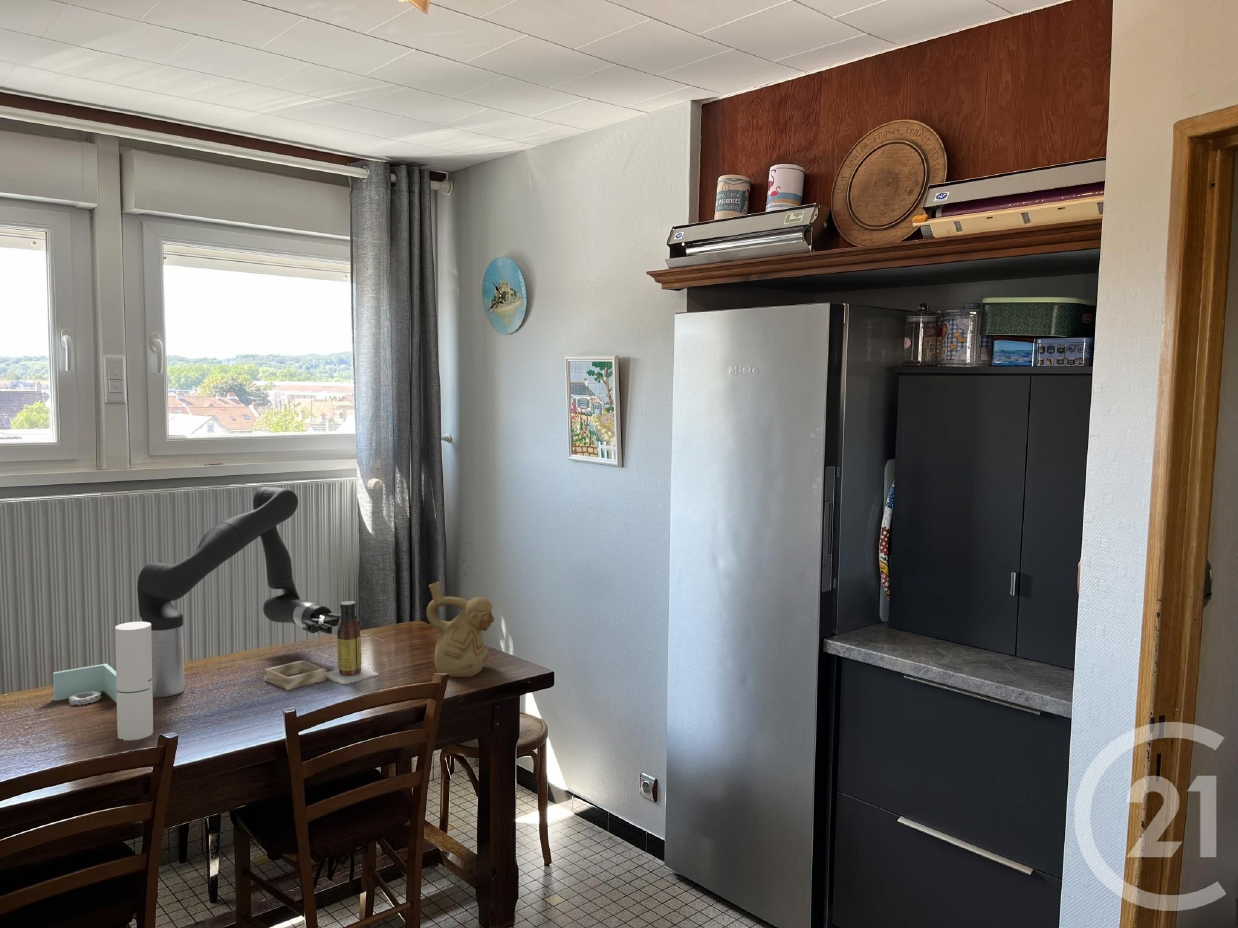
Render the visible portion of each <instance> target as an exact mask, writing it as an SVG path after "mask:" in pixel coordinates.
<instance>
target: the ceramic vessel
mask: <svg viewBox="0 0 1238 928" xmlns="http://www.w3.org/2000/svg"><path fill="white" fill-rule="evenodd" d="M440 584H441V583H440V582H439V581H437V582H433V583H432V582H431V583H430V584H428V587H429V590H430V592H431V596H432V600H431V601H430V602H429V603H428V605H427V607H426V611H425V613H426V618H427V620H428V622H429V623H430V625H431V626H432V627H434V629H437V630H439V631H441V633H440V634H439V636H438V638H437V641H436V645H435V649H434V664H435V669H436V671H437V673H438V674H440V673H447V674H448V675H449V676H448V677H451V678H453V677H454V678H466V677H475V676H476V675H478V674H479V673H480V672H481V671H482V670H483V667H484V666H485V665H486V664H487V663H488V661H489V659H490V652H489V649H488V648H487V647H486V646H485V645H484V638H483V632H487V631H488V629H489V628H490V627H491V626H492V623H494V622H495V618H494V616H493V613H492V609H493V604H492V603H491V602H490V601H489V600H488V599H486V598H485V597H482V596H481V597H480V596H477V597H472V598H471V599H469V600H467V599H465V598H461V597H457V596H443V594H442V590H441V585H440ZM443 606H455V607H458V608H459V609H461V611H460V613H459V614H458V615H456V616H455V618H453V619H452V620H450V621H449V620H448V621H446V620H443V619H441V618H440V617H438V615H437V609H438V608H439V607H443Z"/></svg>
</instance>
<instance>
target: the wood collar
mask: <svg viewBox="0 0 1238 928" xmlns="http://www.w3.org/2000/svg"><path fill="white" fill-rule="evenodd" d="M263 670H264V681H266V682H268V683H271V684H272V685H274V686H276V687H279V688H281V689H284V690H287V691H288V690H293V689H297V688H301V687H304V685H305V686H308V685H309V686H310V685H312V684H316V683H315V682H317V683H319V682H320V683H321V682H324V681H327V678H326V672H327V668H325V667H322V666H319V665H316V664H314V663H312V662H309V661H307V660H304V659H303V660H298V661H294V662H290V663H286V664H281V665H277V666H273V667H269V668H265V669H263Z"/></svg>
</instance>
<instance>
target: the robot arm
mask: <svg viewBox="0 0 1238 928" xmlns="http://www.w3.org/2000/svg"><path fill="white" fill-rule="evenodd" d="M252 505H253V510H251V511H248V512H245V513H241V514H239V515H235V516H231V517H230V518H227V519H225V520H223V521H221V522H220V523H218V524H216V525H215V526H214V527H212V528H210V529H209V530H208V531H207V532H205V534H204V535H202V537H201V538H200V540H199V543H198V546H197V548H196V549H195V551H194V552H193V553H192V554H191V555H189V556H188V557H186V558H185V559H183V560H181V561H179V562H177V563H174V564H173V563H172V564H171V563H164V562H163V563H162V562H151V563H148V564H146V565H145V566H143V568H142V569H141V571H139V574H138V578H137V583H136V584H137V586H136V587H137V588H136V589H137V602H138V604H137V605H138V613H139V614H138V615H139V617H140V620H141V622H149V623H151V642H152V693H153V699H154V698H162V697H163V698H165V697H171V696H175V695H178V694H180V693H183V692H184V691H185V653H184V652H185V651H184V647H185V645H184V615H183V613H182V612H181V611H180V610H178V609H177V608H176V607H175V606H174V605H173V603H172V602H174V601H177V600H179V599H181V598H183V597H184V596H186V595H187V594H188V593H189V592H190V591H191V590H192V589H193V588H194V587H195V586H197V584H199V583H200V582H201V581H202V580H203V579H204V578H205V577H206V576H208V574H210V573H212V572H213V571H214V570H216V569H217V568H219V566H221V565H222V564H223V563H225V562H226V561H227V560H229V559H230V558H232V557H234V556H236V555H237V553H239V552H240V551H242V550H243V549H244V548H245V547H247V546H248V545H249V544H251V543H252V542H254V541H255V540H256V539H258V538H259V537H260V540H261V544H262V547H263V552H264V557H265V566H266V567H265V569H266V578H267V579H266V580H267V585H268V587H269V588H270V589H273V590H282V591H283V593H282V594H280V595H279V594H278V595H276V596H272V597H269V598H267V599H266V600H265V602H264V603H263V607H262V610H263V611H262V612H263V614H264V616H265V617H266V618H267V619H268V620H269V621H271V622H274V623H283V624H286V623H290V624H294V625H296V626H299V627H301V628H302V630H303V631H306V632H308V633H310V634H315V633H325V634H327V635H331V634H333V629H334V628H339V625H340V621H341V613H340V614H337V613H335V612H332V611H331V609H330V608H329V607H328V606H326V605H322V604H319V603H315V602H312V601H306V600H303V599H301V598H300V595H299V593H298V590H297V588H296V585H295V581H294V577H293V566H292V565H293V564H292V559H291V555H290V552H289V551H288V549H287V546H286V545H285V543H284V541H283V539H282V537H281V536H280V533H279V531H278V527H277V526H278V525H280V524H281V523H283V522H285V521H286V520H288V519H290V518H291V517H292V516H293V515H294V513H296V510H297V508H298V506H299V498H298V495H297V494H296V493H295V492H294V491H293V490H291V489H289V488H285V487H272V486H264V487H260V488H258V490H256V491H255V493H254V495H253V500H252ZM355 619H356V620H357V622H358V624H359V626H360V620H358V615H357V614H355ZM360 627H361V626H360Z"/></svg>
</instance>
